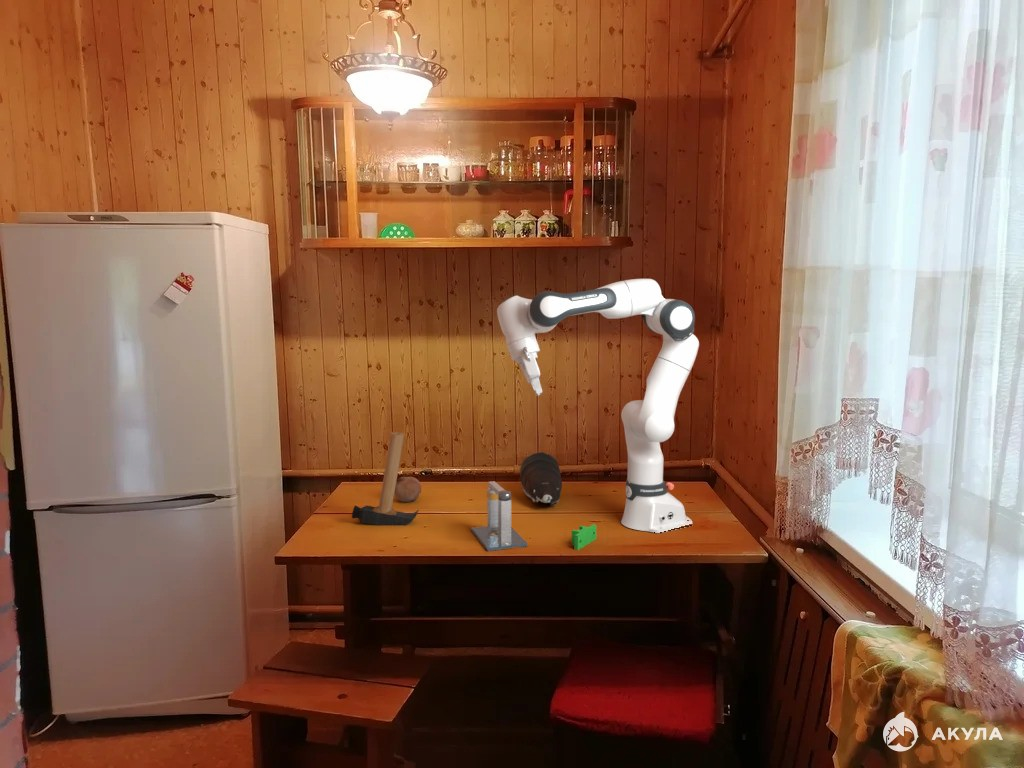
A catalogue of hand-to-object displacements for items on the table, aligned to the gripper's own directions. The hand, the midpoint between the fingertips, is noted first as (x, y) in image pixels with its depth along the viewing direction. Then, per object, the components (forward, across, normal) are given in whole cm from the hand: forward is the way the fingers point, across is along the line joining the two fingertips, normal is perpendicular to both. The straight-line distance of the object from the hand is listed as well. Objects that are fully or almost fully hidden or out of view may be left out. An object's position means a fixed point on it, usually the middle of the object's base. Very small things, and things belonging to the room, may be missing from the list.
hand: (539, 394), depth 208 cm
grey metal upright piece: (+36, +6, +25) cm, 44 cm away
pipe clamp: (+46, +3, +2) cm, 46 cm away
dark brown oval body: (+34, +44, +10) cm, 56 cm away
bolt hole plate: (+37, +6, +25) cm, 45 cm away
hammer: (+22, +20, +59) cm, 66 cm away
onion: (+19, +43, +54) cm, 72 cm away
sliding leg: (+34, +11, +26) cm, 44 cm away
